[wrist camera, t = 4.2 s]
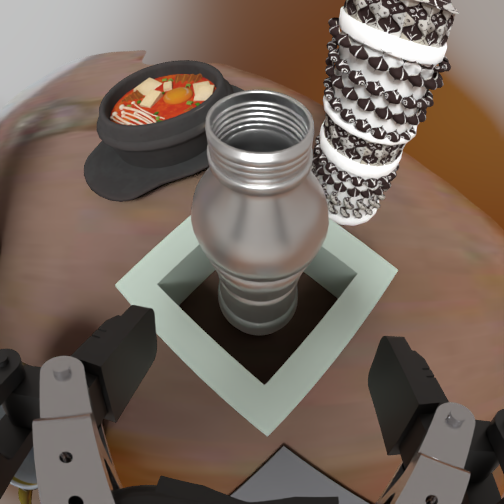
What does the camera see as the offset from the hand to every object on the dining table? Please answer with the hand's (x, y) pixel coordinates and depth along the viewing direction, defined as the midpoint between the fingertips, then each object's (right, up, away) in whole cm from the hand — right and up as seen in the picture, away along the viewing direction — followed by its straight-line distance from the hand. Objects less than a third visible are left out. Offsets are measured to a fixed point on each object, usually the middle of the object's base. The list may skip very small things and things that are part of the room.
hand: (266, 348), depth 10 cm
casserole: (-11, +18, +28) cm, 35 cm away
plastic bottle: (0, -2, +17) cm, 17 cm away
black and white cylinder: (+10, +10, +23) cm, 27 cm away
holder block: (0, -1, +17) cm, 17 cm away
